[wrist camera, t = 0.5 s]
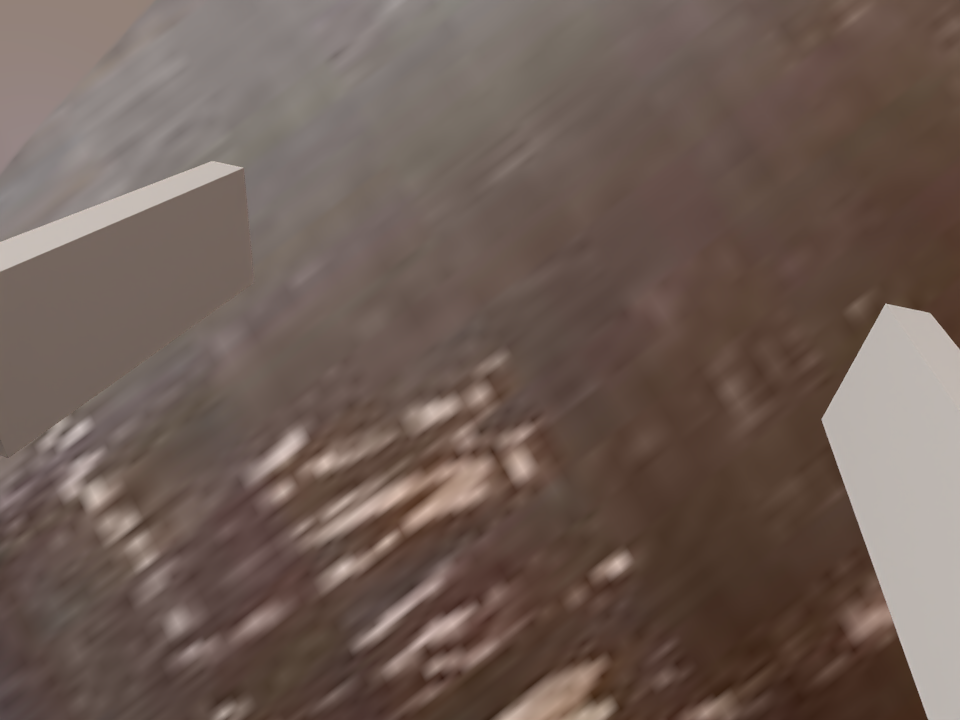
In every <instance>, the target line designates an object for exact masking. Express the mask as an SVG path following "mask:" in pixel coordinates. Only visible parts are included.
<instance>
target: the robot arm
mask: <svg viewBox="0 0 960 720" xmlns="http://www.w3.org/2000/svg"><path fill="white" fill-rule="evenodd" d="M252 283H254V273H253V262H252V251H251V241H250V230H249V219H248V209H247V198H246V187H245V176H244V168H242V167H237V166H233V165H228V164H223V163H219V162H214V161H211V162H209V163H206V164H203V165H201V166H198V167H196V168H193V169H190V170H188V171H185V172H182V173H180V174H177V175H175V176H172V177H169V178H167V179H164V180H162V181H159V182H156V183H154V184H151V185H148V186H146V187H143V188H141V189H138V190H135V191H133V192H130V193H128V194H125V195H122V196H120V197H117V198H114V199H112V200H109V201H107V202H104V203H101V204H99V205H96V206H94V207H91V208H88V209H86V210H83V211H80V212H78V213H75V214H73V215H70V216H67V217H65V218H62V219H60V220H57V221H54V222H52V223H49V224H46V225H44V226H41V227H39V228H36V229H33V230H31V231H28V232H26V233H23V234H20V235H18V236H15V237H12V238H10V239H7V240H5V241H2V242H0V456H4V457H7V458H9V457H10V456H12V455H13V454H14V453H16V452H17V451H19V450H20V449H21V448H23V447H24V446H26V445H27V444H28V443H30V442H31V441H33V440H34V439H35V438H37V437H38V436H40V435H41V434H42V433H44V432H45V431H47V430H48V429H49V428H51V427H52V426H54V425H55V424H56V423H58V422H59V421H61V420H62V419H63V418H65V417H66V416H68V415H69V414H70V413H72V412H73V411H75V410H76V409H77V408H79V407H80V406H82V405H83V404H84V403H86V402H87V401H89V400H90V399H91V398H93V397H94V396H96V395H97V394H98V393H100V392H101V391H103V390H104V389H105V388H107V387H108V386H110V385H111V384H112V383H114V382H115V381H117V380H118V379H119V378H121V377H122V376H124V375H125V374H126V373H128V372H129V371H131V370H132V369H133V368H135V367H136V366H138V365H139V364H140V363H142V362H143V361H145V360H146V359H147V358H149V357H150V356H152V355H153V354H154V353H156V352H157V351H159V350H160V349H161V348H163V347H164V346H166V345H167V344H168V343H170V342H171V341H173V340H174V339H175V338H177V337H178V336H180V335H181V334H182V333H184V332H185V331H187V330H188V329H189V328H191V327H192V326H194V325H195V324H196V323H198V322H199V321H201V320H202V319H203V318H205V317H206V316H208V315H209V314H210V313H212V312H213V311H215V310H216V309H217V308H219V307H220V306H222V305H223V304H224V303H226V302H227V301H229V300H230V299H231V298H233V297H234V296H236V295H237V294H238V293H240V292H241V291H243V290H244V289H245V288H247V287H248V286H250V285H251V284H252ZM822 423H823V425H824V428H825V431H826V434H827V437H828V439H829V442H830V445H831V448H832V451H833V453H834V456H835V459H836V462H837V465H838V468H839V470H840V473H841V476H842V479H843V482H844V484H845V487H846V490H847V493H848V496H849V498H850V501H851V504H852V507H853V510H854V512H855V515H856V518H857V521H858V524H859V527H860V529H861V532H862V535H863V538H864V541H865V543H866V546H867V549H868V552H869V555H870V557H871V560H872V563H873V566H874V569H875V572H876V574H877V577H878V580H879V583H880V586H881V588H882V591H883V594H884V597H885V600H886V602H887V605H888V608H889V611H890V614H891V616H892V619H893V622H894V625H895V628H896V631H897V633H898V636H899V639H900V642H901V645H902V647H903V650H904V653H905V656H906V659H907V661H908V664H909V667H910V670H911V673H912V675H913V678H914V681H915V684H916V687H917V690H918V692H919V695H920V698H921V701H922V704H923V706H924V709H925V712H926V715H927V718H928V720H960V350H959V348H958V347H957V346H956V345H955V343H954V342H953V341H952V340H951V338H950V337H949V336H948V335H947V333H946V332H945V331H944V330H943V328H942V327H941V326H940V325H939V324H938V322H937V321H936V320H935V319H934V317H933V316H932V315H931V314H930V313H927V312H922V311H918V310H913V309H908V308H904V307H899V306H894V305H889V304H885V306H884V308H883V309H882V311H881V313H880V315H879V317H878V318H877V320H876V322H875V324H874V326H873V327H872V329H871V331H870V333H869V335H868V336H867V338H866V340H865V342H864V344H863V345H862V347H861V349H860V351H859V353H858V355H857V356H856V358H855V360H854V362H853V364H852V365H851V367H850V369H849V371H848V373H847V374H846V376H845V378H844V380H843V382H842V383H841V385H840V387H839V389H838V391H837V392H836V394H835V396H834V398H833V400H832V401H831V403H830V405H829V407H828V409H827V411H826V412H825V414H824V416H823V418H822Z"/></svg>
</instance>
